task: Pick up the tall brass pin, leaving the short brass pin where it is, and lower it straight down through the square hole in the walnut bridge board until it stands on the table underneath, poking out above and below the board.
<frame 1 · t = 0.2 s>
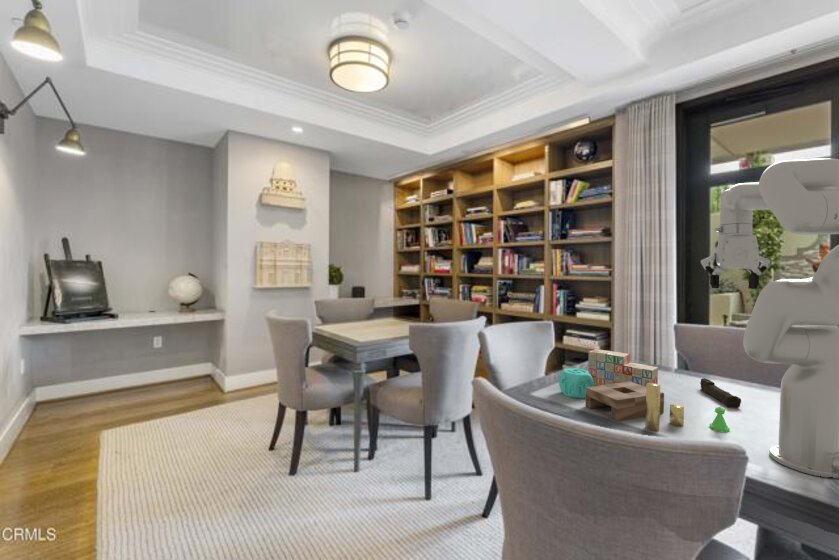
hand: (733, 288, 115), 37 cm above the table, tool pointing down, fingers open, 9 cm apart
bridge board: (623, 409, 117), on the table
stack of blocks: (621, 389, 138), on the table
tall pin: (652, 428, 104), on the table
game piece: (719, 429, 104), on the table
short pin: (676, 424, 107), on the table
decorative dice: (575, 395, 131), on the table
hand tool: (714, 399, 128), on the table
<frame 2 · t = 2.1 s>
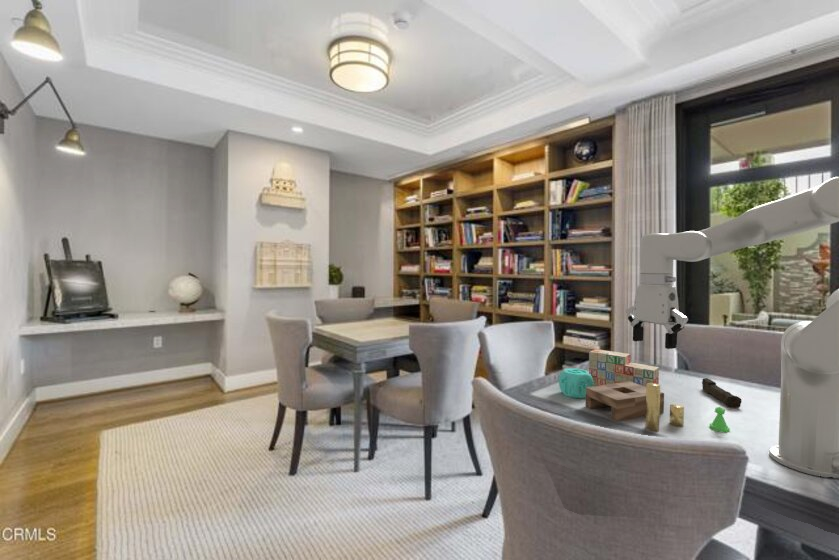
hand: (653, 344, 103), 23 cm above the table, tool pointing down, fingers open, 9 cm apart
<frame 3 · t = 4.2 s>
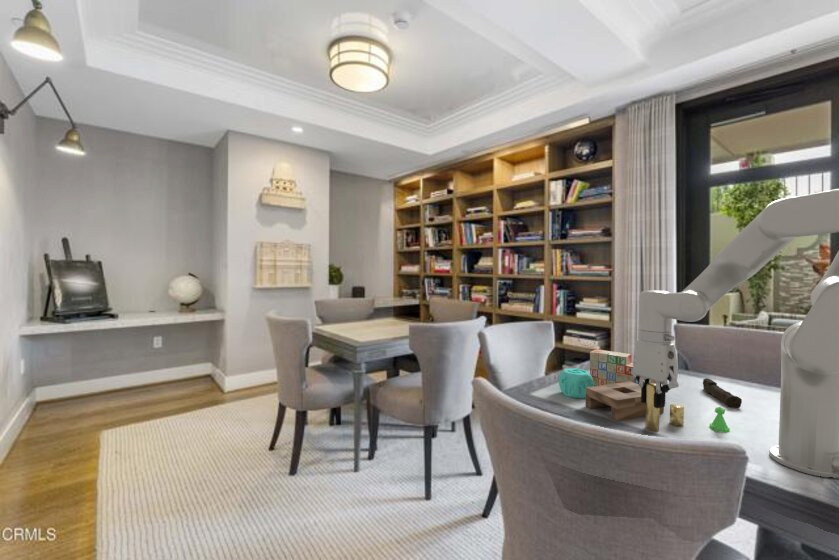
hand: (652, 403, 104), 7 cm above the table, tool pointing down, fingers closed on tall pin, 3 cm apart
tall pin: (652, 428, 104), on the table, touching gripper
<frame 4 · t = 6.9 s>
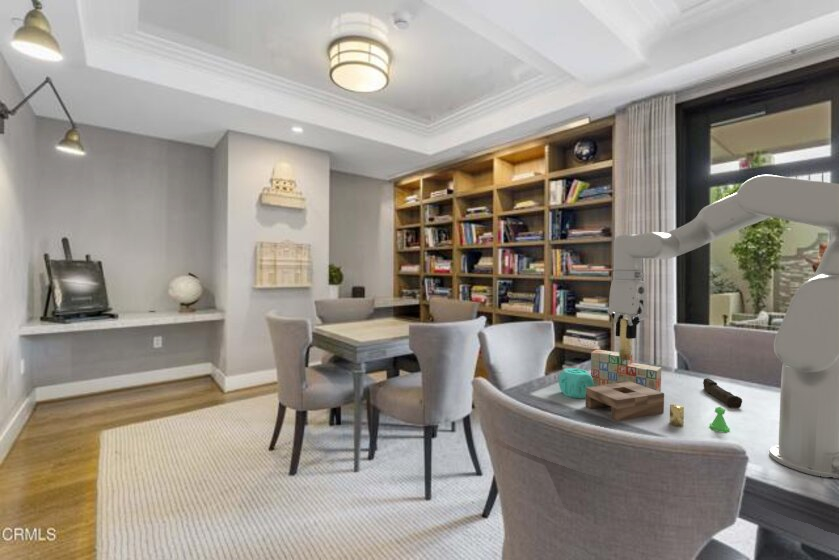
hand: (625, 336, 116), 22 cm above the table, tool pointing down, fingers closed on tall pin, 3 cm apart
tall pin: (624, 358, 116), point 16 cm above the table, touching gripper
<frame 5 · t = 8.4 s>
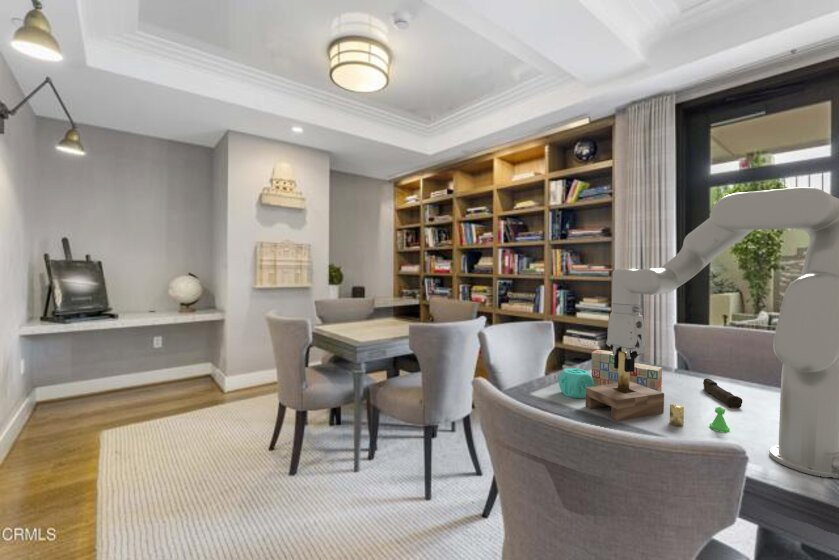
hand: (624, 369, 117), 12 cm above the table, tool pointing down, fingers closed on tall pin, 3 cm apart
tall pin: (623, 391, 117), point 6 cm above the table, touching gripper
when the fingers open (8 cm above the table, at t = 9.6 s): tall pin stays where it is, on the table.
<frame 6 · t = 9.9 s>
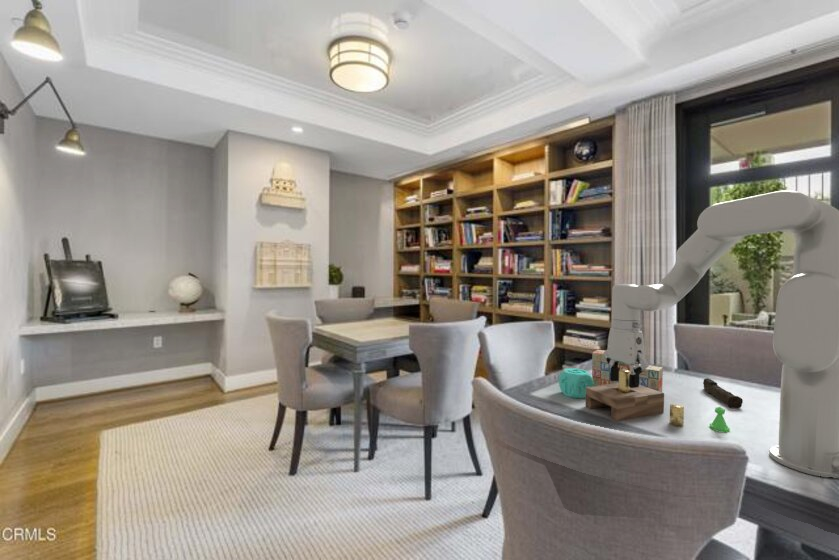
hand: (624, 383, 117), 8 cm above the table, tool pointing down, fingers open, 6 cm apart
tall pin: (623, 409, 117), on the table
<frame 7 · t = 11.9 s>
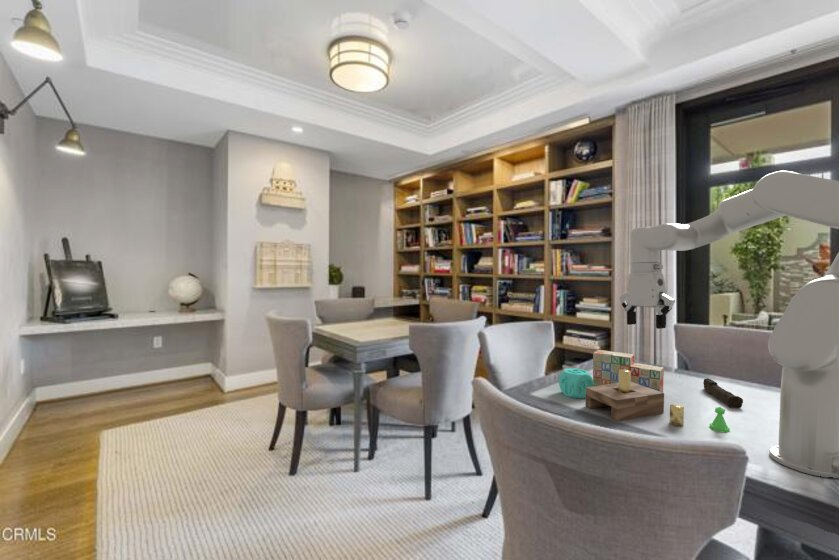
hand: (645, 326, 115), 26 cm above the table, tool pointing down, fingers open, 9 cm apart
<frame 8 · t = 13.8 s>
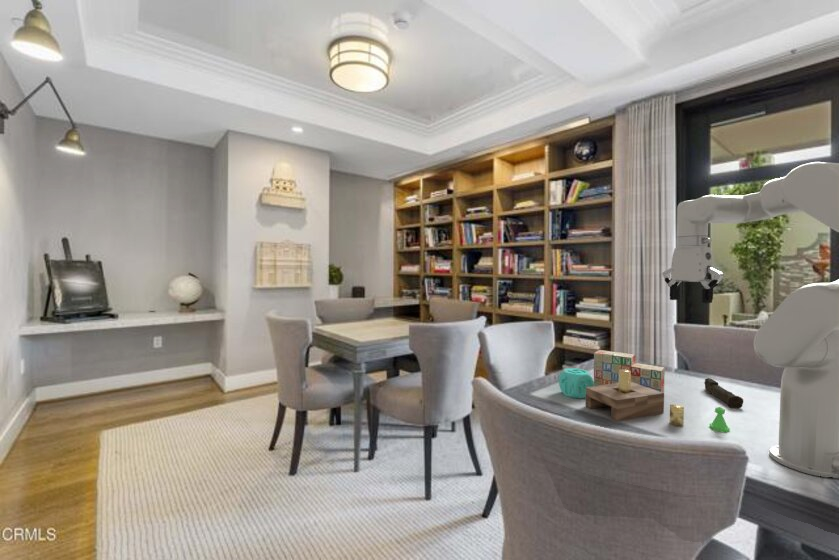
hand: (690, 301, 114), 33 cm above the table, tool pointing down, fingers open, 9 cm apart
at the end: tall pin 0.1 cm off-centre on the bridge board, point 0.0 cm above the bridge board's base; tall pin tilted 0°; short pin moved 0.0 cm from its start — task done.
